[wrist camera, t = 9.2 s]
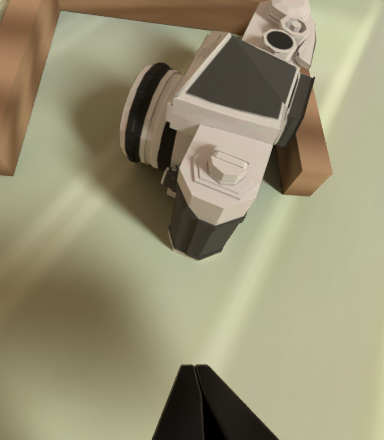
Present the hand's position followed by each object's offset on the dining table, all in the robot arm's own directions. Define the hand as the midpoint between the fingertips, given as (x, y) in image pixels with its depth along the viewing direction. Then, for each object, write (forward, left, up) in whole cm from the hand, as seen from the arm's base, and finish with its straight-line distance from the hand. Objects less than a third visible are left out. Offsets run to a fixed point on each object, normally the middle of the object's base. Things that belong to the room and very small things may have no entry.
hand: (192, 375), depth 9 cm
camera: (+7, +13, -8) cm, 16 cm away
